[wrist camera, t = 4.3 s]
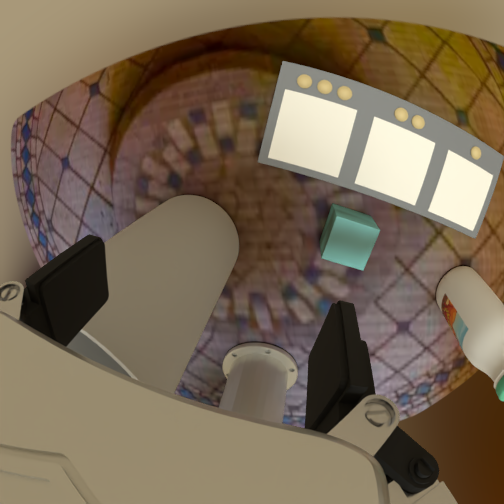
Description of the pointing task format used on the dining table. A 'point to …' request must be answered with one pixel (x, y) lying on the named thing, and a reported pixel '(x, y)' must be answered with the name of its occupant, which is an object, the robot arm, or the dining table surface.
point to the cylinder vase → (161, 290)
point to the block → (348, 237)
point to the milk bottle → (475, 321)
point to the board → (379, 147)
